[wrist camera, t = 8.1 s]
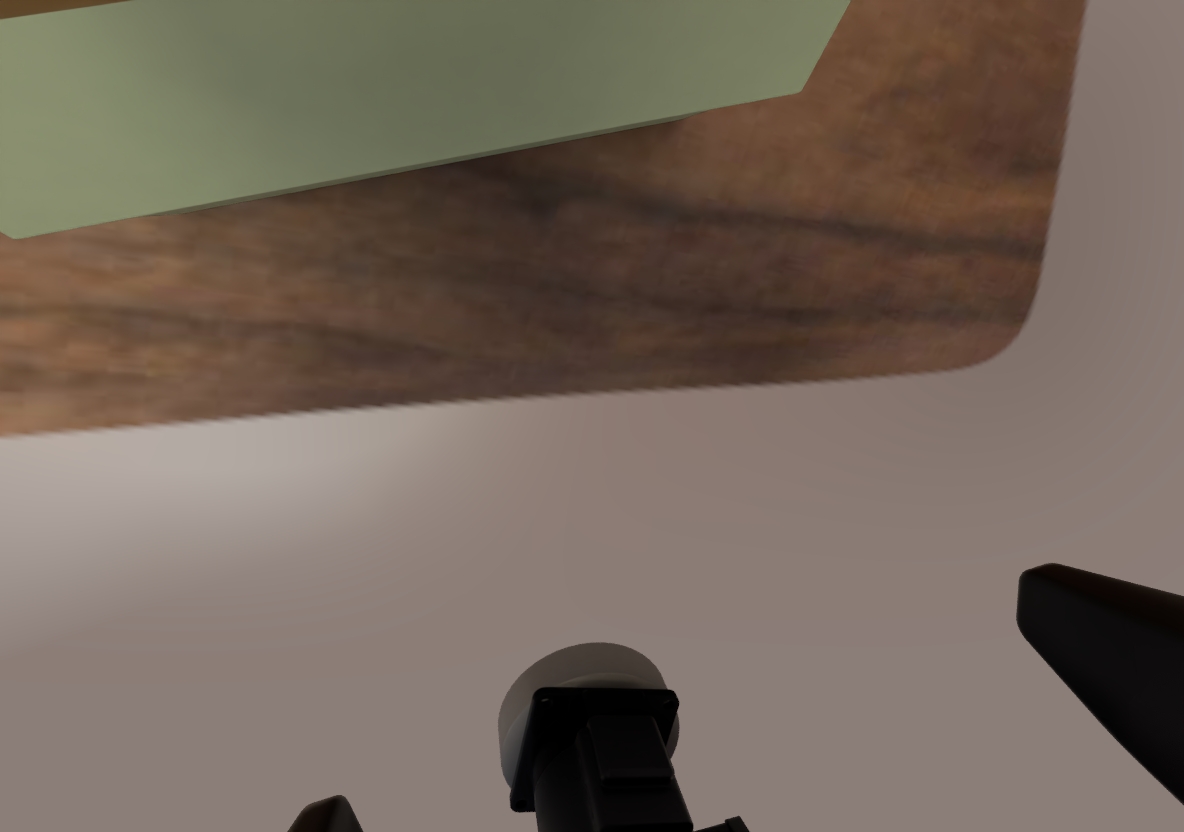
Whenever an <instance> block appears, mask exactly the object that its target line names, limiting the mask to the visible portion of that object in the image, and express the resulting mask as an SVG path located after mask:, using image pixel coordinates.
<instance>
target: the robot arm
mask: <svg viewBox="0 0 1184 832" xmlns="http://www.w3.org/2000/svg"><path fill="white" fill-rule="evenodd" d="M1016 618H1017V619H1016V620H1017V624H1018V627H1019V629H1020V631H1021V633H1022V635H1023V636H1024V638H1025V639H1026V640H1027V641H1028V642H1029V643H1030V644H1031V646H1032V647H1033V648H1034V649H1035V650H1036V651H1037V652H1038V653H1039V654H1040V656H1041V657H1042V658H1043V659H1044V660H1045V661H1046V662H1047V664H1048V665H1049V666H1050V667H1051V668H1052V669H1053V670H1054V671H1055V673H1056V674H1057V675H1058V676H1059V677H1060V678H1061V679H1062V680H1063V682H1064V683H1065V684H1066V685H1067V686H1068V687H1069V688H1070V689H1071V691H1072V692H1073V693H1074V694H1075V695H1076V696H1077V697H1078V698H1079V699H1080V701H1081V702H1082V703H1083V704H1084V705H1085V706H1086V707H1087V708H1088V710H1089V711H1090V712H1091V713H1092V714H1093V715H1094V716H1095V717H1096V719H1097V720H1098V721H1099V722H1100V723H1101V724H1102V725H1103V726H1104V727H1105V728H1106V729H1107V731H1108V732H1109V733H1110V734H1111V735H1112V736H1113V737H1114V738H1115V739H1116V740H1117V741H1118V742H1119V743H1120V744H1121V745H1122V746H1123V747H1124V748H1125V749H1126V750H1127V751H1128V752H1129V753H1130V754H1131V755H1132V756H1133V757H1134V758H1135V759H1136V760H1137V761H1138V762H1139V763H1140V764H1141V765H1142V766H1143V767H1144V768H1145V769H1146V770H1147V771H1148V772H1149V773H1150V774H1152V775H1153V776H1154V777H1155V778H1156V779H1157V780H1158V781H1159V782H1160V783H1161V784H1162V785H1163V786H1164V787H1165V788H1166V789H1167V790H1168V791H1169V792H1170V793H1171V794H1172V795H1173V796H1174V797H1175V798H1177V799H1178V800H1179V801H1180V802H1181V803H1182V804H1183V805H1184V596H1181V595H1177V594H1173V593H1169V592H1165V591H1161V590H1158V589H1153V588H1150V587H1146V586H1142V585H1138V584H1134V583H1131V582H1127V581H1123V580H1119V579H1115V578H1111V577H1107V576H1103V575H1100V574H1096V573H1092V572H1088V571H1084V570H1080V569H1076V568H1073V567H1069V566H1065V565H1061V564H1056V563H1049V564H1044V565H1041V566H1038V567H1035V568H1032V569H1028V570H1026V571H1024V572H1023V573H1022V574H1021V576H1020V578H1019V586H1018V600H1017V615H1016ZM543 699H548V700H547V701H542V700H543ZM667 701H669V702H667ZM665 702H667V703H665ZM678 708H679V700H678V697H677V695H676V693H675V692H674V691H673V690H670V689H631V688H581V687H542V688H539V689H537V690H536V691H535V692H534V694H533V696H532V700H531V704H530V709H529V713H528V718H527V722H526V726H525V731H524V735H523V739H522V744H521V748H520V753H519V757H518V761H517V766H516V770H515V774H514V779H513V783H512V788H511V792H510V808H511V809H512V810H513V811H514V812H519V813H523V812H536V818H537V826H538V832H749V830H748V829H747V827H746V825H745V824H744V822H743V821H742V819H741V817H740V816H737V817H733V818H730V819H726V820H725V823H723V824H719V825H716V826H712V827H709V828H705V829H701V830H698V831H693V823H692V820H691V817H690V815H689V812H688V809H687V807H686V804H685V802H684V799H683V796H682V794H681V791H680V788H679V786H678V783H677V780H676V778H675V775H674V768H673V766H672V763H671V760H670V758H669V755H668V753H667V750H666V745H667V742H668V739H669V736H670V733H671V730H672V727H673V723H674V720H675V717H676V714H677V711H678ZM288 832H363V830H362V828H361V826H360V824H359V822H358V820H357V818H356V816H355V814H354V812H353V810H352V808H351V806H350V804H349V802H348V801H347V799H346V798H345V797H344V796H342V795H336V796H333V797H330V798H327V799H324V800H321V801H318V802H314V803H312V804H310V805H308V806H306V807H305V808H304V809H303V810H302V811H301V813H300V814H299V816H298V817H297V819H296V820H295V821H294V823H293V824H292V826H291V827H290V829H289V830H288Z"/></svg>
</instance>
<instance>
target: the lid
mask: <svg viewBox="0 0 1184 832" xmlns="http://www.w3.org/2000/svg"><path fill="white" fill-rule="evenodd" d="M850 2H851V0H0V232H2V233H3V234H5V235H7V236H8V237H10V238H12V239H22V238H27V237H33V236H38V235H43V234H49V233H54V232H59V231H65V230H70V229H75V228H81V227H86V226H91V225H97V224H102V223H107V222H113V221H118V220H123V219H129V218H134V217H139V216H145V215H150V214H155V213H161V212H166V211H171V210H177V209H182V208H187V207H193V206H198V205H203V204H209V203H214V202H219V201H225V200H230V199H236V198H241V197H246V196H252V195H257V194H262V193H268V192H273V191H278V190H284V189H289V188H294V187H300V186H305V185H310V184H316V183H321V182H326V181H332V180H337V179H342V178H348V177H353V176H358V175H364V174H369V173H374V172H380V171H385V170H390V169H396V168H401V167H406V166H412V165H417V164H422V163H428V162H433V161H438V160H444V159H449V158H454V157H460V156H465V155H470V154H476V153H481V152H486V151H492V150H497V149H502V148H508V147H513V146H518V145H524V144H529V143H534V142H540V141H545V140H550V139H556V138H561V137H567V136H572V135H577V134H583V133H588V132H593V131H599V130H604V129H609V128H615V127H620V126H625V125H631V124H636V123H641V122H647V121H652V120H657V119H663V118H668V117H673V116H679V115H684V114H689V113H695V112H700V111H705V110H711V109H716V108H721V107H727V106H732V105H737V104H743V103H748V102H753V101H759V100H764V99H769V98H775V97H780V96H785V95H791V94H796V93H799V92H801V91H802V89H803V87H804V86H805V84H806V82H807V80H808V78H809V76H810V75H811V73H812V71H813V69H814V67H815V66H816V64H817V62H818V60H819V58H820V56H821V55H822V53H823V51H824V49H825V47H826V45H827V44H828V42H829V40H830V38H831V36H832V34H833V33H834V31H835V29H836V27H837V25H838V23H839V22H840V20H841V18H842V16H843V14H844V13H845V11H846V9H847V7H848V5H849V3H850Z"/></svg>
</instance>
